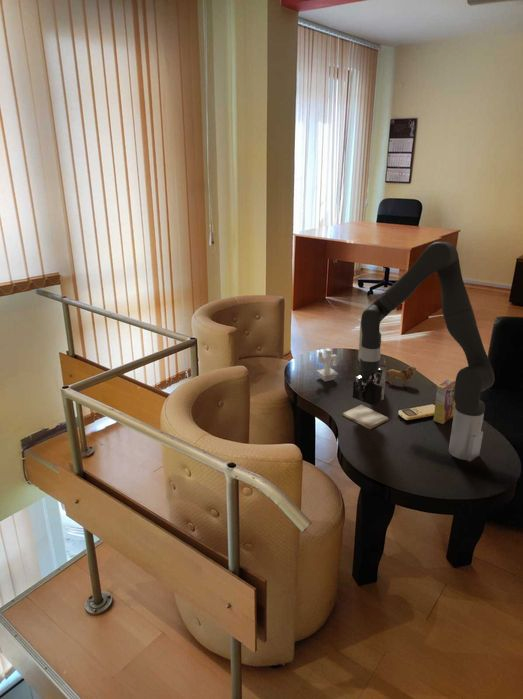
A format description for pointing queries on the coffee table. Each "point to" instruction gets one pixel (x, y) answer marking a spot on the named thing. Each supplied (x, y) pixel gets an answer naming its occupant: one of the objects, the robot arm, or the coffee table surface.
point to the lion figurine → (401, 374)
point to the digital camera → (369, 393)
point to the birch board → (365, 416)
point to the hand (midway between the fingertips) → (367, 396)
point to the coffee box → (383, 374)
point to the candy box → (444, 401)
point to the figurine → (327, 365)
